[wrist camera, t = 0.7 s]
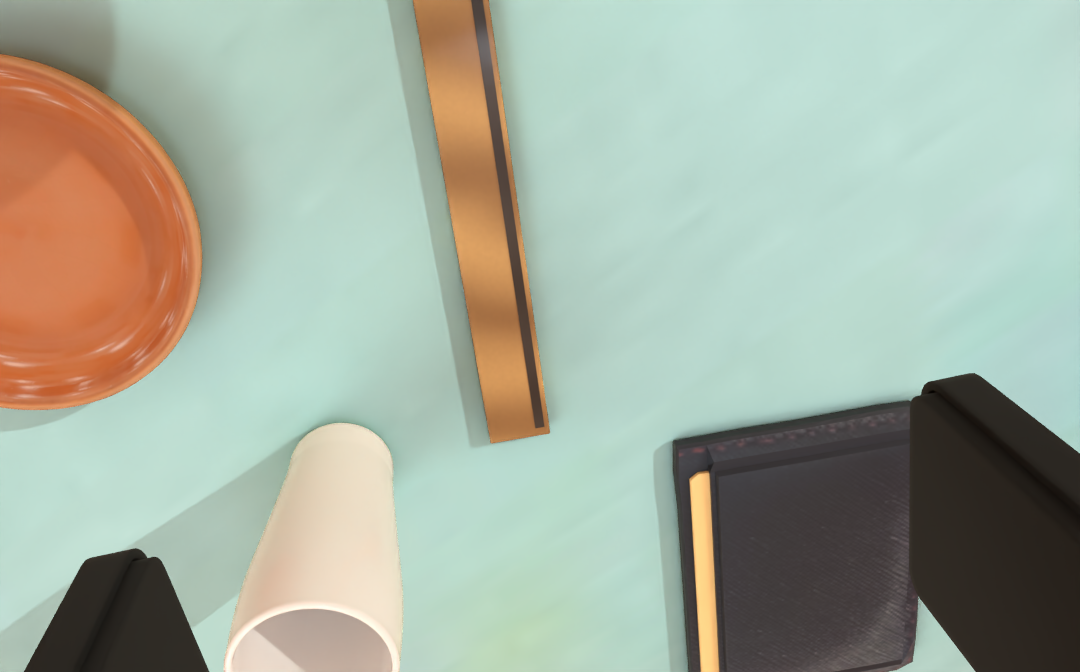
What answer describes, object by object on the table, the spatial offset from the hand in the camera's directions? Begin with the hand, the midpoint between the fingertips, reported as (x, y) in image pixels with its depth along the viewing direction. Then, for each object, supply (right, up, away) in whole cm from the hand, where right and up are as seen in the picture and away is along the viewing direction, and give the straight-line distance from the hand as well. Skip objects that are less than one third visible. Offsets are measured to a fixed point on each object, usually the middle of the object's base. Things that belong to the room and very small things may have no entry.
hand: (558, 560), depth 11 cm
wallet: (+15, -10, +44) cm, 47 cm away
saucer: (-23, +8, +30) cm, 39 cm away
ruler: (-3, +11, +31) cm, 33 cm away
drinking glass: (-11, -4, +37) cm, 39 cm away
